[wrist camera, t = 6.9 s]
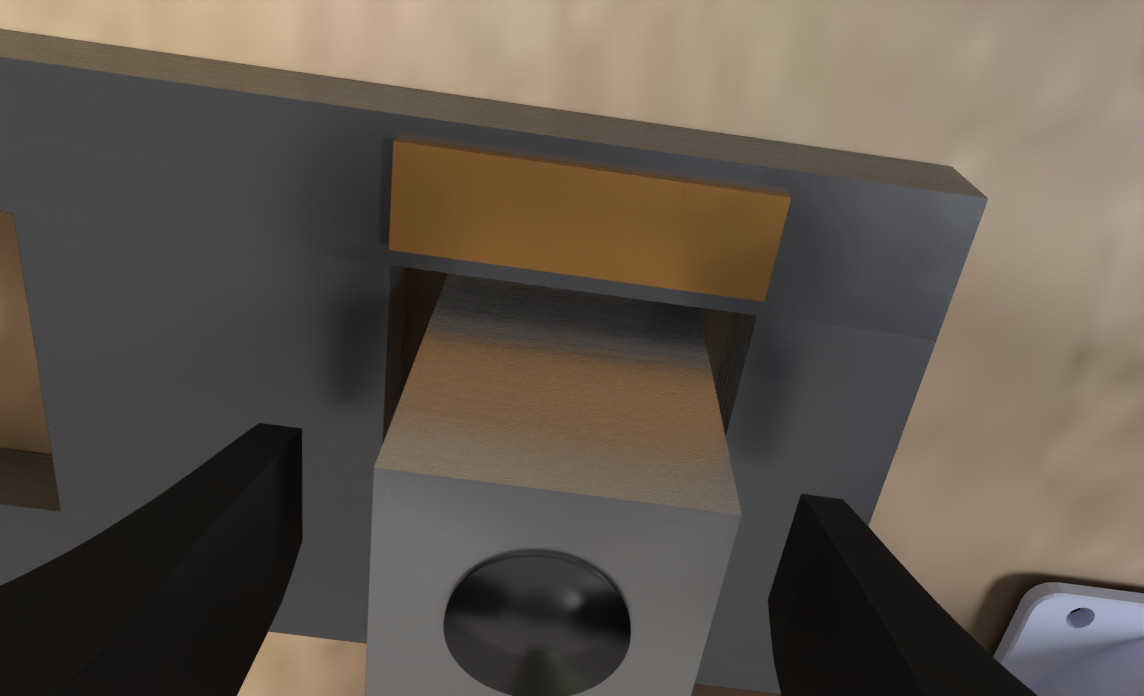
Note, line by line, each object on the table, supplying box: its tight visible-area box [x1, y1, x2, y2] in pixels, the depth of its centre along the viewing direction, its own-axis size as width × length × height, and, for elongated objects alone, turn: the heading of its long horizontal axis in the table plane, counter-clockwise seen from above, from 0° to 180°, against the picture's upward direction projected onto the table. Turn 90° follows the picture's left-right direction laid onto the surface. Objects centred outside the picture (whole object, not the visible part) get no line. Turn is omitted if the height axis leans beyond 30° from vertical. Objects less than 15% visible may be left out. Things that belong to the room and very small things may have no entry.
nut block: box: [365, 273, 742, 696], centre depth 13 cm, size 4×4×6 cm
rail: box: [0, 29, 988, 694], centre depth 15 cm, size 22×10×2 cm, turn 82°
